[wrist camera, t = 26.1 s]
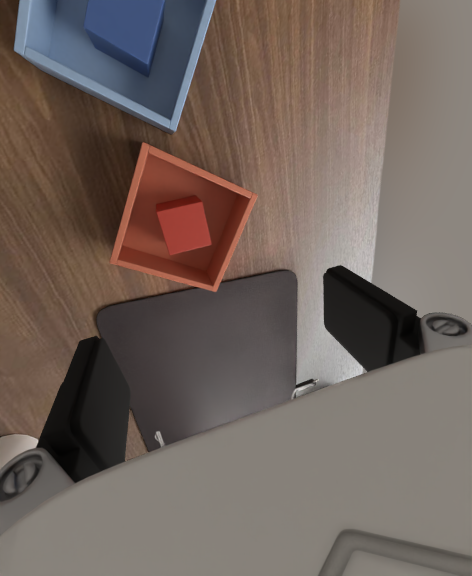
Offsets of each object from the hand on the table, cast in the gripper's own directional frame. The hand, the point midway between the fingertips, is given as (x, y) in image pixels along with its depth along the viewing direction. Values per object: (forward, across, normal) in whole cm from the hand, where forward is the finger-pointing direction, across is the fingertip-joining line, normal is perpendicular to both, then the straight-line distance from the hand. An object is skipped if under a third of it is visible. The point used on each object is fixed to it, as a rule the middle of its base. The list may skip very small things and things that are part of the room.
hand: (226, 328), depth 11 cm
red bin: (+22, 0, 0) cm, 22 cm away
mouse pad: (+22, +1, +25) cm, 33 cm away
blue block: (+22, 0, -16) cm, 27 cm away
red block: (+22, 0, 0) cm, 22 cm away
